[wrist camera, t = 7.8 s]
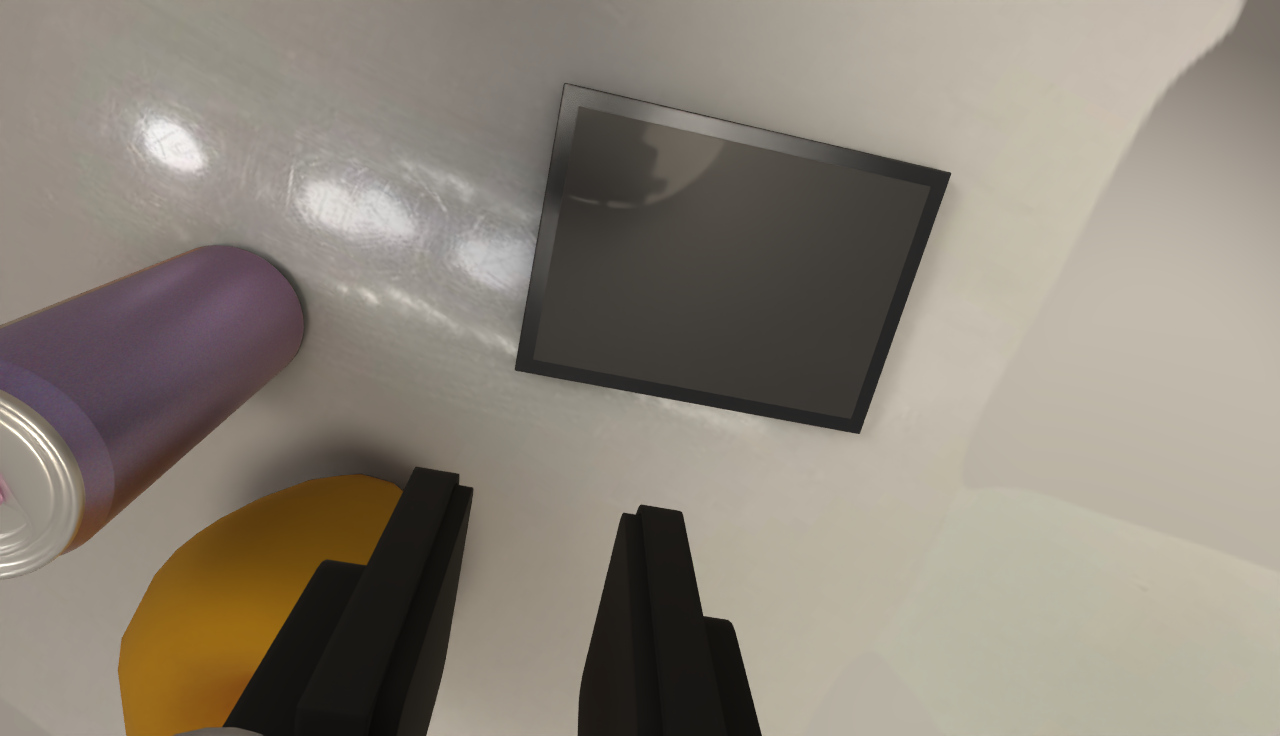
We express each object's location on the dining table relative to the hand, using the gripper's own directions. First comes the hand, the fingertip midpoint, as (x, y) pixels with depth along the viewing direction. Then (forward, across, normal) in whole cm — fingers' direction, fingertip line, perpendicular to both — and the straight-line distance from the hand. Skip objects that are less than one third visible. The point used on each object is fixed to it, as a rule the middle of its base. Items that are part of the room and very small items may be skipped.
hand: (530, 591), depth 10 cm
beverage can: (+24, +14, +6) cm, 28 cm away
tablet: (+24, -6, 0) cm, 24 cm away
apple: (+24, +8, +16) cm, 30 cm away
